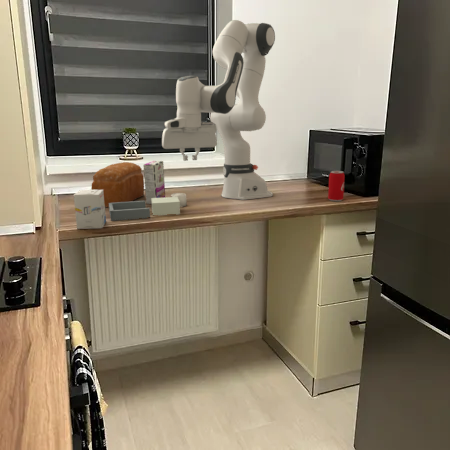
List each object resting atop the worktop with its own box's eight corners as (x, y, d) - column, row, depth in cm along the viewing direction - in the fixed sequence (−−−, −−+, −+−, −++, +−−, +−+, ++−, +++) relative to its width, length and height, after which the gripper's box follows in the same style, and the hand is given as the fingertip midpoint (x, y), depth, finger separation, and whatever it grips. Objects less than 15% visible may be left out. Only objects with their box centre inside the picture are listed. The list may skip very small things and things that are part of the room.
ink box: (81, 222, 157) (78, 189, 153) (106, 221, 157) (103, 188, 154) (76, 229, 148) (72, 194, 145) (102, 228, 149) (99, 193, 146)
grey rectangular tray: (145, 209, 175) (145, 200, 174) (150, 217, 162) (149, 208, 161) (109, 211, 171) (108, 203, 170) (111, 220, 158) (110, 211, 157)
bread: (90, 207, 180) (86, 168, 176) (118, 194, 204) (115, 159, 200) (122, 208, 177) (119, 168, 173) (146, 195, 202) (144, 160, 198)
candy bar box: (154, 198, 194) (152, 160, 190) (165, 199, 193) (164, 160, 189) (145, 204, 184) (142, 164, 179) (156, 204, 183) (154, 164, 178)
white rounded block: (184, 203, 185) (184, 192, 184) (187, 206, 179) (187, 195, 178) (170, 204, 183) (169, 193, 182) (172, 207, 178) (172, 196, 177)
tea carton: (177, 209, 175) (177, 196, 174) (180, 214, 167) (179, 201, 166) (151, 210, 174) (151, 198, 172) (152, 216, 165) (152, 203, 164)
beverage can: (345, 200, 188) (347, 171, 185) (338, 202, 183) (340, 173, 180) (332, 198, 192) (334, 170, 189) (325, 200, 188) (326, 171, 184)
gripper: (214, 121, 170) (214, 158, 174) (160, 122, 164) (162, 160, 168) (218, 122, 164) (219, 160, 168) (162, 123, 159) (164, 162, 162)
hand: (190, 160), depth 168 cm, fingers open, 2 cm apart
